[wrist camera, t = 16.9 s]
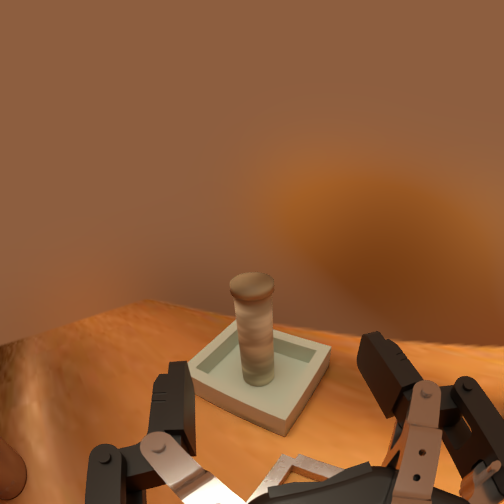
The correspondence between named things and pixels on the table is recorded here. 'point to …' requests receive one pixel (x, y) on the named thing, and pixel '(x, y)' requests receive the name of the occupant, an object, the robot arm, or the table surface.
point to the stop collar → (298, 465)
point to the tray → (260, 397)
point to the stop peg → (254, 325)
